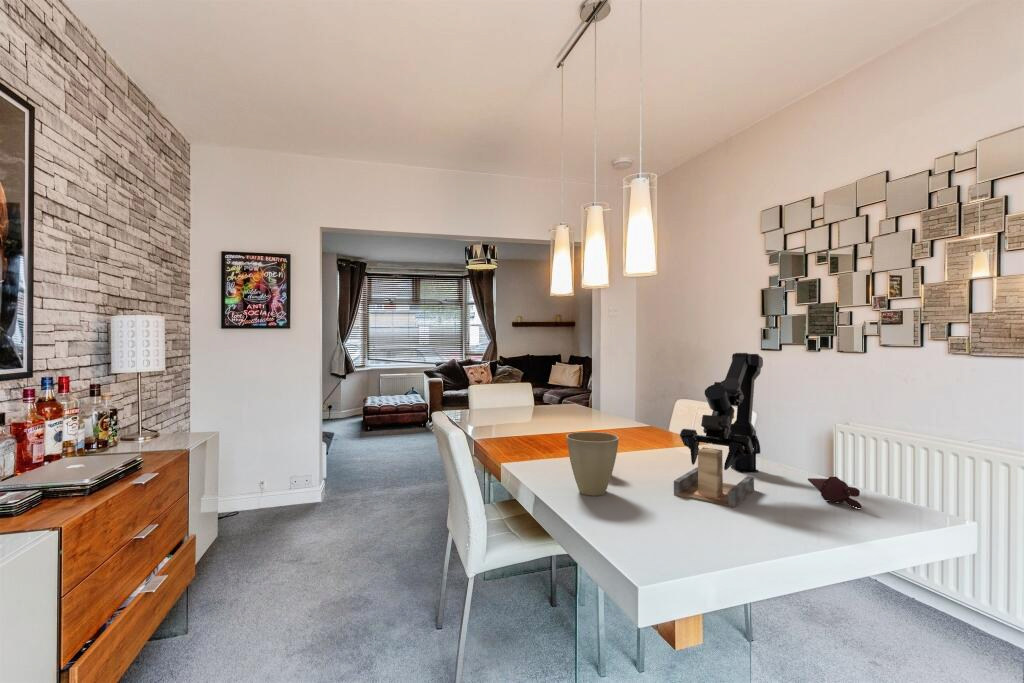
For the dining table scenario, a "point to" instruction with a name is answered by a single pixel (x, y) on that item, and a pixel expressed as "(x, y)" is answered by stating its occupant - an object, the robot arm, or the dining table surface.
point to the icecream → (836, 490)
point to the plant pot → (592, 460)
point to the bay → (729, 497)
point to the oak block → (710, 472)
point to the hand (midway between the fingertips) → (708, 466)
